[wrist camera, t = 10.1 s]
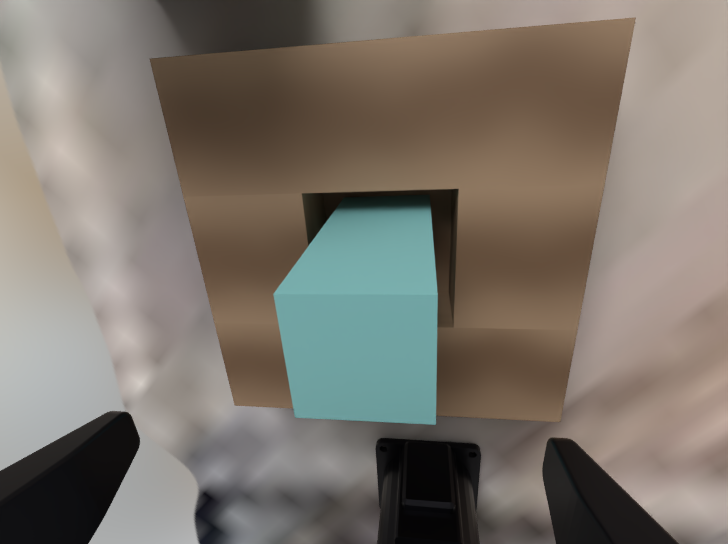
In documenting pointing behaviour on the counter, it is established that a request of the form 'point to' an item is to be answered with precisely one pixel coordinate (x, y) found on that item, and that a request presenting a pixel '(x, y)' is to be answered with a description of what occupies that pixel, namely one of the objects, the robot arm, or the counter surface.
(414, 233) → the teal peg
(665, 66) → the counter surface
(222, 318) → the walnut socket
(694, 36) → the counter surface
